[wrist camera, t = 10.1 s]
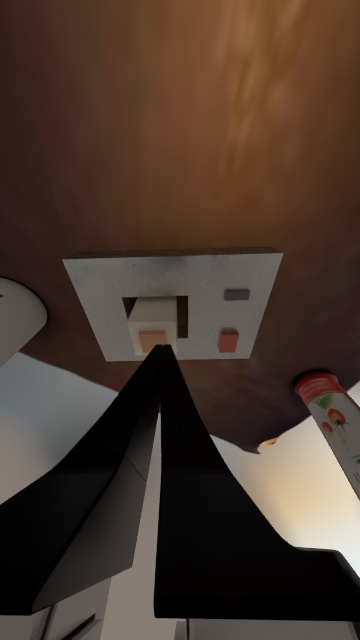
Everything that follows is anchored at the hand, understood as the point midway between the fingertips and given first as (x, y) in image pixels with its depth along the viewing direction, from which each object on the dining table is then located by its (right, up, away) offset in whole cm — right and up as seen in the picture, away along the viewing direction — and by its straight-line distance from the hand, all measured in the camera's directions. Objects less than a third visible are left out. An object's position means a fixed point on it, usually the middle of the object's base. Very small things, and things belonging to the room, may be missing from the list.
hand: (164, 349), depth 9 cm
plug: (-2, +3, +12) cm, 12 cm away
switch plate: (0, +3, +12) cm, 12 cm away
